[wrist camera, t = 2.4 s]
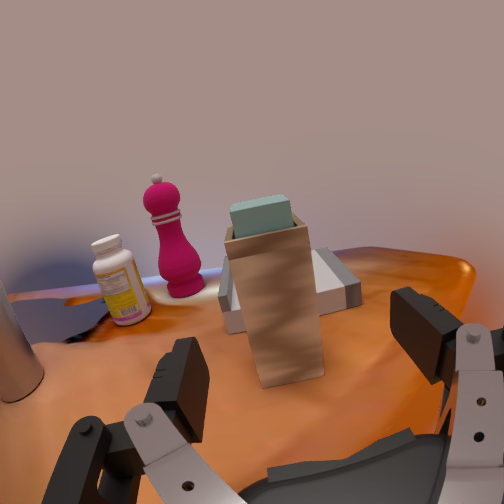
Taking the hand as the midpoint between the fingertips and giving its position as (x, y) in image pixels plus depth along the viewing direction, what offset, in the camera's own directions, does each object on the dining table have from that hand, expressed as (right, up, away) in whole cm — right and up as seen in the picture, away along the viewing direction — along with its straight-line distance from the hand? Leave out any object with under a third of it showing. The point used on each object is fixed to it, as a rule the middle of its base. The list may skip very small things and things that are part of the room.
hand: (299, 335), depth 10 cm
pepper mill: (-13, -3, +37) cm, 39 cm away
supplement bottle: (-20, -7, +30) cm, 37 cm away
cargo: (-1, +4, +11) cm, 11 cm away
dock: (+3, -3, +27) cm, 28 cm away
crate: (+2, -7, +14) cm, 16 cm away
